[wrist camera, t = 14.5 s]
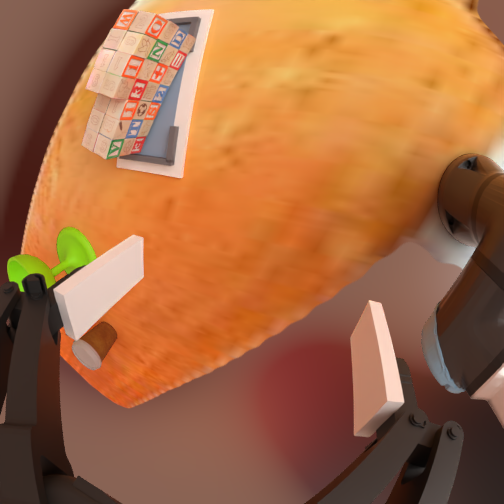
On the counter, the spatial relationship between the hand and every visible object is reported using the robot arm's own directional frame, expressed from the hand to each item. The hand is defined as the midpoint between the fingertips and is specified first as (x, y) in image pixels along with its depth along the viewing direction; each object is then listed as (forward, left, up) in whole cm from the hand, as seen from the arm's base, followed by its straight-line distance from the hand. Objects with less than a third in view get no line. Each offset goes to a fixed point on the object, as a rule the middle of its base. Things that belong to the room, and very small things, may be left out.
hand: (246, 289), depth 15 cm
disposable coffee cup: (+39, +47, -29) cm, 68 cm away
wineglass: (+47, +26, -29) cm, 61 cm away
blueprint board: (+25, -13, -29) cm, 40 cm away
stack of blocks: (+25, -12, -27) cm, 39 cm away
